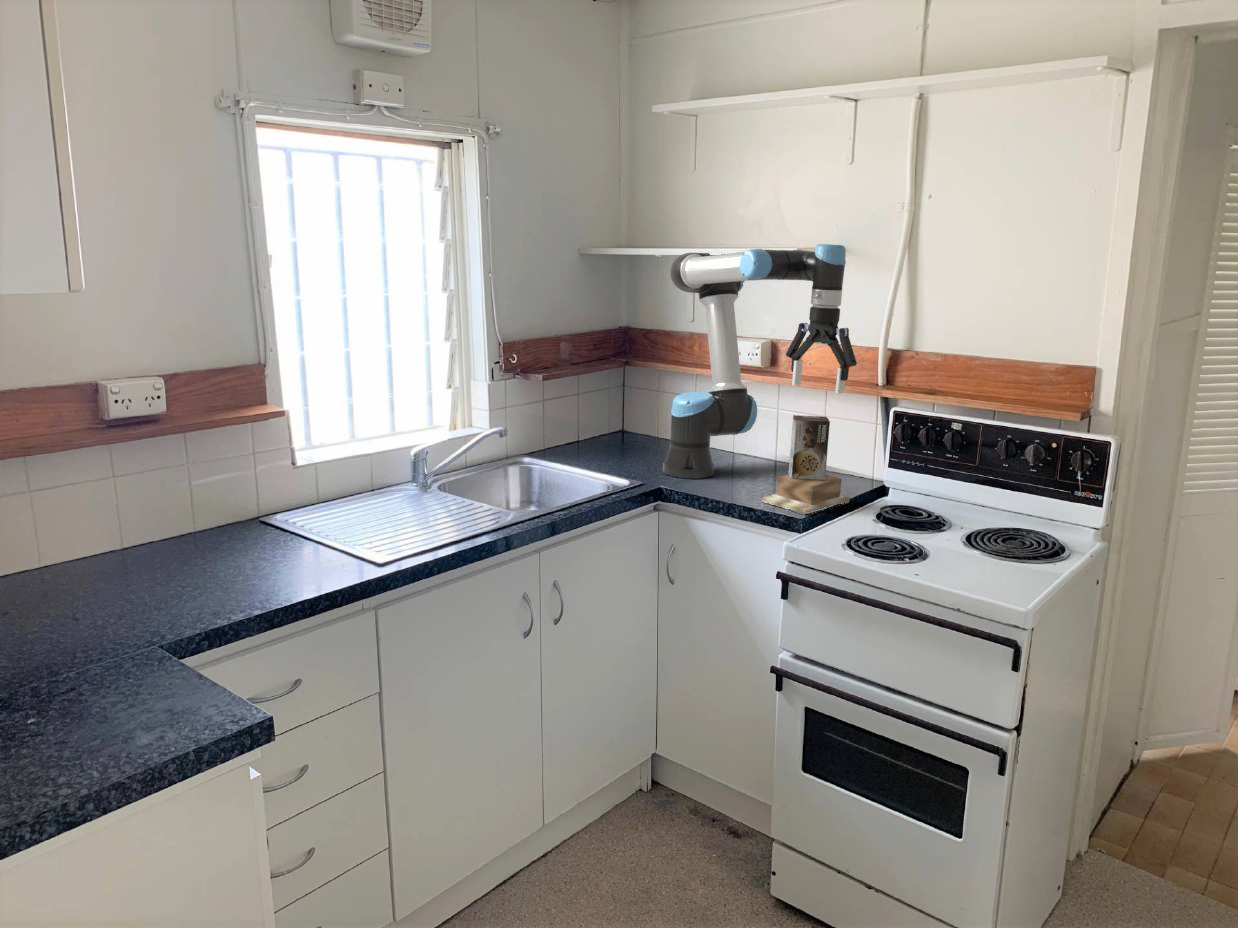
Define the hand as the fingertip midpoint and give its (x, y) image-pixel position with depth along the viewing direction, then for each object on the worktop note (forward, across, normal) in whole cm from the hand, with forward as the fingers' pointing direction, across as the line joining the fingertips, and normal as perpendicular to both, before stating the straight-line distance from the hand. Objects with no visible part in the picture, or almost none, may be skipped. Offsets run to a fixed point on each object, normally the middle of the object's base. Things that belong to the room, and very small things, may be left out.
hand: (817, 388), depth 239 cm
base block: (+29, +1, 0) cm, 29 cm away
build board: (+31, +1, -1) cm, 31 cm away
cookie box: (+24, -1, 0) cm, 24 cm away
